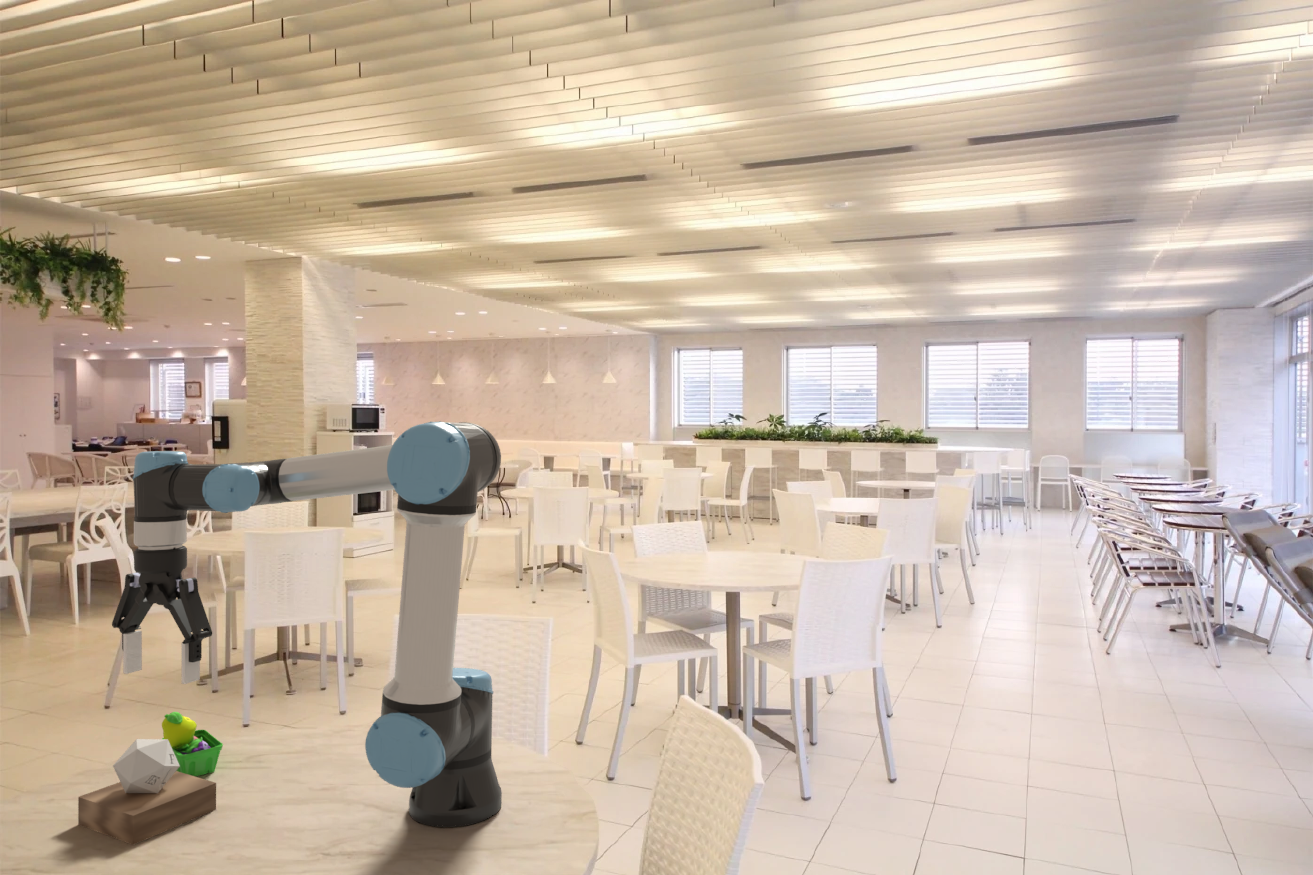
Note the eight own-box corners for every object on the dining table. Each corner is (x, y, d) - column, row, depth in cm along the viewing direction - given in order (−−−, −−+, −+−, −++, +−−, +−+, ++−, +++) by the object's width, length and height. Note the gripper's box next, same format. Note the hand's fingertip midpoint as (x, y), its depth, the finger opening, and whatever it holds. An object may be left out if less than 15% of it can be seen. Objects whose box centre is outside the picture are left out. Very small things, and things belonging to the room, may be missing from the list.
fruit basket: (224, 772, 162) (225, 710, 162) (171, 785, 156) (171, 721, 156) (203, 754, 170) (204, 696, 170) (152, 767, 164) (153, 706, 164)
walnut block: (216, 812, 147) (216, 782, 146) (132, 848, 134) (133, 815, 134) (162, 795, 153) (162, 766, 153) (78, 828, 140) (78, 796, 140)
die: (132, 809, 137) (176, 754, 140) (91, 778, 139) (135, 723, 142) (158, 807, 145) (199, 754, 148) (119, 777, 146) (160, 725, 149)
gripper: (236, 548, 142) (236, 679, 142) (130, 539, 152) (130, 662, 152) (195, 554, 135) (195, 692, 135) (87, 544, 145) (87, 673, 145)
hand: (161, 676), depth 144 cm, fingers open, 13 cm apart
